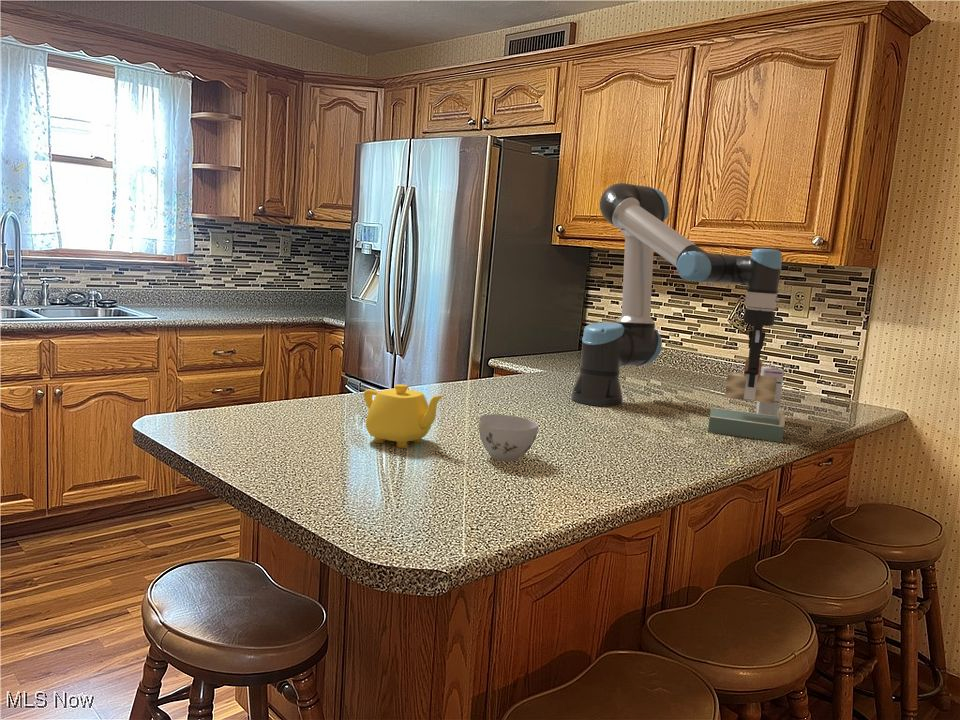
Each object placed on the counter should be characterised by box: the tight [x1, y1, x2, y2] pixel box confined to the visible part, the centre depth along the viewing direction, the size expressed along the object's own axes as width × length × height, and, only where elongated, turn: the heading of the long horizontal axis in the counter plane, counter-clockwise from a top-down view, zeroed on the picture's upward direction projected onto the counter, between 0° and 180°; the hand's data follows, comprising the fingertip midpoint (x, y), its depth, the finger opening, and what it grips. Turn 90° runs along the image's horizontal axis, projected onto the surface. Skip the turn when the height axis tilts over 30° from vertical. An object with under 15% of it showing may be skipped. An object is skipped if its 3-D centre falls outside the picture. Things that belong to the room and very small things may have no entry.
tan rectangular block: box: [724, 371, 777, 404], centre depth 198 cm, size 12×6×6 cm, turn 71°
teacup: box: [478, 413, 539, 463], centre depth 157 cm, size 15×12×8 cm
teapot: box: [363, 383, 445, 449], centre depth 163 cm, size 13×20×12 cm
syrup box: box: [755, 365, 785, 416], centre depth 222 cm, size 6×6×14 cm
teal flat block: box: [707, 407, 786, 443], centre depth 199 cm, size 18×14×6 cm
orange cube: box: [743, 358, 763, 378], centre depth 197 cm, size 4×4×4 cm
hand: (749, 397), depth 198 cm, fingers closed on tan rectangular block, 6 cm apart
